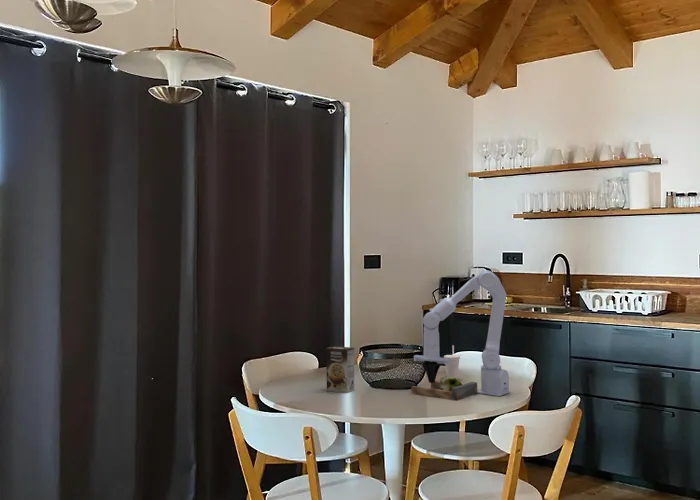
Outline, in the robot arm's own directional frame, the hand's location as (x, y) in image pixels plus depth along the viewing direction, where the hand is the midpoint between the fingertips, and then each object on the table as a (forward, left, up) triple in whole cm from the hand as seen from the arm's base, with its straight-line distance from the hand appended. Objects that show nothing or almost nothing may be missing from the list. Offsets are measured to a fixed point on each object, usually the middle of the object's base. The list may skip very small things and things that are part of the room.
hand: (431, 382), depth 250 cm
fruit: (-7, -1, -4) cm, 8 cm away
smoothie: (+6, -23, -4) cm, 24 cm away
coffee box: (+29, +18, -4) cm, 34 cm away
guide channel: (-5, 0, -4) cm, 6 cm away
